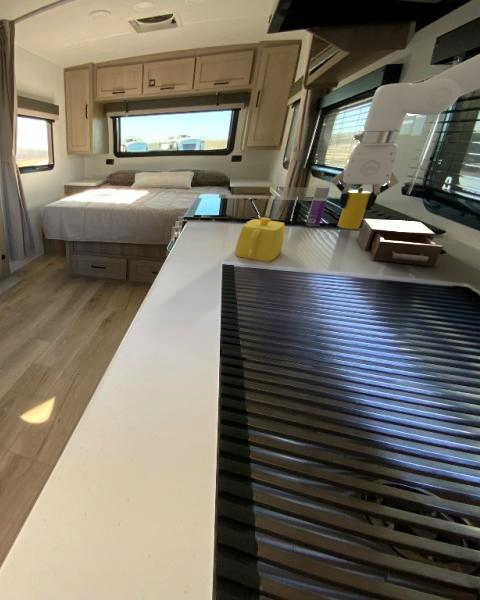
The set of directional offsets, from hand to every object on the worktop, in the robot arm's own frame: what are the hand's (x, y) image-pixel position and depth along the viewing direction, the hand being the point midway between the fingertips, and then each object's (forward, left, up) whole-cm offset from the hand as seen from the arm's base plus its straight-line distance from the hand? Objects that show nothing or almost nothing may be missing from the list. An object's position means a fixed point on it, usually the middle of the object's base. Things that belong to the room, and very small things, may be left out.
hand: (354, 207), depth 96 cm
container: (+5, -42, -16) cm, 45 cm away
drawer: (-15, -4, -15) cm, 21 cm away
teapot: (+22, +4, -16) cm, 27 cm away
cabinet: (-15, -17, -16) cm, 28 cm away
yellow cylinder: (0, 0, -6) cm, 6 cm away
